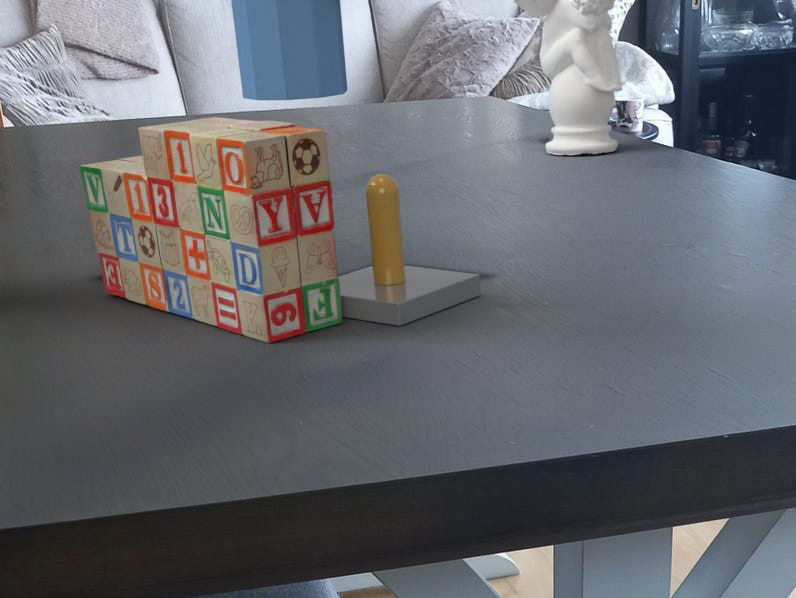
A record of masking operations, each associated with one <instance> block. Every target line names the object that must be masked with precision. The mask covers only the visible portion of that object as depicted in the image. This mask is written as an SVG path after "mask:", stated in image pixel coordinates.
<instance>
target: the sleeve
mask: <svg viewBox="0 0 796 598" xmlns="http://www.w3.org/2000/svg"><path fill="white" fill-rule="evenodd" d="M230 3H231V11H232V18H233V19H232V20H233V26H234V36H235V42H236V43H235V45H236V50H237V60H238V67H239V75H240V76H239V77H240V83H241V92H242V99H246V100H253V101H295V100H296V101H297V100H309V99H322V98H329V97H334V96H340V95H344V94H346V93H347V92H348V79H347V67H346V56H345V44H344V32H343V31H344V30H343V20H342V19H343V18H342V6H341V0H230Z"/></svg>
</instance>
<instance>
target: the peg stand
mask: <svg viewBox="0 0 796 598" xmlns="http://www.w3.org/2000/svg"><path fill="white" fill-rule="evenodd" d="M365 194H366V207H367V220H368V230H369V240H370V255H371V264H372V265H371V266H367V267H363V268H361V269H358V270H354V271H352V272H349V273H345V274H342V275H340V276H337V277H338V278H339V282H340V294H341V309H342V318H347V319H353V320H360V321H366V322H372V323H378V324H385V325H392V326H397V327H401V326H404V325H407V324H409V323H411V322H414V321H417V320H419V319H422V318H425V317H427V316H430V315H433V314H435V313H438V312H440V311H443V310H446V309H448V308H451V307H454V306H457V305H459V304H461V303H464V302H467V301H469V300H472V299H475V298H478V297H480V296H481V278H480V274H478V273H470V272H462V271H461V272H460V271H454V270H445V269H437V268H430V267H422V266H412V265H405V256H404V242H403V228H402V227H403V226H402V215H401V203H400V201H401V200H400V189H399V185H398V183H397V181H396V180H395V179H394V178H393V176H391V175H390V174H386V173H378V174H376V175H373V176H371V178H370V179H369V180H368V181H367V184H366V187H365Z"/></svg>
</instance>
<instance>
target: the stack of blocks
mask: <svg viewBox="0 0 796 598" xmlns="http://www.w3.org/2000/svg"><path fill="white" fill-rule="evenodd" d="M138 137H139V142H140V148H141V149H140V151H141V155H137V156H129V157H123V158H122V157H121V158H117V159H114V160H107V161H101V162H93V163H88V164H81V165H79V173H80V177H81V182H82V187H83V193H84V199H85V203H86V208H87V209H88V210H89V216H90V222H91V227H92V232H93V238H94V242H95V247H96V252H98V258H99V264H100V271H101V276H102V280H103V286H104V289H105V290H104V291H105V293H107V294H110V295H114V296H118V297H120V298H124V299H126V300H128V301H131V302H135V303H138V304H141V305H145V306H149V307H150V308H153V309H157V310H160V311H164V312H167V313H173V314H174V315H178V316H181V317H185V318H188V319H192V320H195V321H199V322H202V323H205V324H208V325H211V326H215V327H218V328H220V329H223V330H226V331H229V332H232V333H235V334H238V335H243V336H244V337H247V338H250V339H254V340H256V341H259V342H263V343H268V344H270V343H275V342H279V341H282V340H285V339H286V340H287V339H289V338H293V337H296V336H300V335H303V334H306V333H309V332H313V331H317V330H321V329H325V328H328V327H331V326H336V325H339V324H342V323H343V317H342V309H341V294H340V282H339V278H338V277H339V276H338V260H337V259H338V258H337V247H336V246H337V245H336V237H335V235H336V234H335V212H334V203H333V201H334V200H333V199H334V198H333V195H332V194H333V190H332V189H333V188H332V182H331V176H330V162H329V150H328V135H327V129H323V128H314V127H313V128H312V127H306V126H297V125H296V124H295V123H294V122H288V121H287V122H286V121H277V120H268V119H267V120H250V119H237V118H228V117H218V116H213V117H212V116H211V117H205V118H204V117H203V118H198V119H191V120H184V121H178V122H177V121H176V122H170V123H163V124H156V125H155V124H154V125H146V126H140V127H138Z"/></svg>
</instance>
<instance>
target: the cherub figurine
mask: <svg viewBox="0 0 796 598" xmlns="http://www.w3.org/2000/svg"><path fill="white" fill-rule="evenodd" d="M615 2H616V0H513V3H514V4H516V6H517V7H518V8H520V10H523V11H524V12H526V14H527V15H528V17H529V16H530V17H531V16H532V17H533V18H537V17H541V16H542V17H543V16H544V17H545V18H544V21H543V26H542V33H541V45H540V50H539V62H540V66H541V70H542V73H543V74H544V76H545V77H546V78H548V79H549V80H552V81H551V84H550V87H549V91H548V94H547V95H548V96H547V107H548V112H549V114H550V118H551V120H552V122H553V124H554V125H555V126H553V127H551V129H550V132H551V134H552V135H553V139H552V140H550V141H548V142H546V143H545V151H546V154H550V155H554V156H555V155H556V156H563V155H567V156H574V155H582V154H584V155H585V154H587V155H590V154H591V155H597V154H602V153H605V154H606V153H612V152H614V151H617V148H618V147H619V143H618V141H617V140H616V139H613V138H611V136H610V132H611V131H612V129H613V128H612V126H611V124H608V123H609V122H610V119H611V117H612V115H613V111H614V108H615V103H616V101H615V100H616V99H615V98H616V97H615V92H621V91H623V84H622V81H621V75H620V72H619V70H620V68H619V62H618V56H617V53H616V49H615V47H614V44H613V40H612V36H611V33H610V31H611V30H612V29H613V18H612V16H611V15H610V13H609V11H610V10H613V9H614V6H615Z"/></svg>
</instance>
